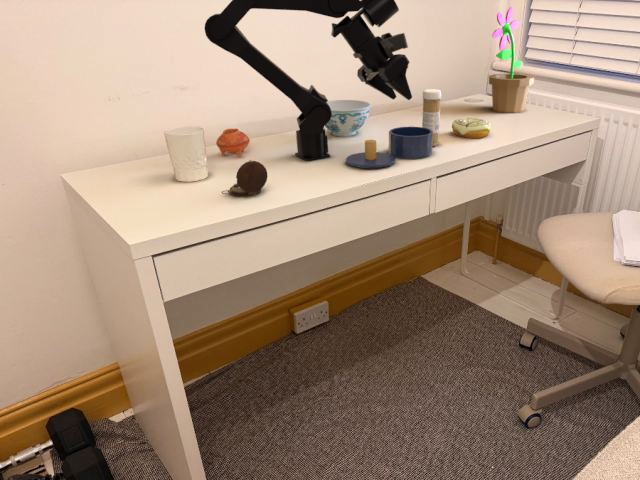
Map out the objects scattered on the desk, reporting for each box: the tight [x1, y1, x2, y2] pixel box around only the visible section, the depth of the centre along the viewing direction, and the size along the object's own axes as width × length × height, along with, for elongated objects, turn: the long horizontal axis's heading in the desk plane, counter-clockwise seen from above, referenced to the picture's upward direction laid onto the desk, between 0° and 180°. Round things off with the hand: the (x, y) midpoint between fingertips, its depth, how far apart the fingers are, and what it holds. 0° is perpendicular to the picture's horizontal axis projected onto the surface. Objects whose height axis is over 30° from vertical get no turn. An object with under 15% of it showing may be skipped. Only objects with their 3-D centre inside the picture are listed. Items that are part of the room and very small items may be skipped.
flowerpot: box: [488, 6, 535, 114], centre depth 175 cm, size 14×14×30 cm
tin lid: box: [345, 139, 396, 169], centre depth 127 cm, size 11×11×5 cm
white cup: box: [163, 125, 209, 183], centre depth 117 cm, size 8×8×10 cm
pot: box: [215, 127, 251, 158], centre depth 134 cm, size 8×8×7 cm
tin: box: [388, 126, 434, 160], centre depth 134 cm, size 10×10×5 cm
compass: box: [221, 159, 268, 197], centre depth 108 cm, size 8×8×7 cm
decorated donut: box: [451, 117, 492, 139], centre depth 151 cm, size 10×11×4 cm
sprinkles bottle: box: [421, 88, 442, 147], centre depth 139 cm, size 5×5×13 cm
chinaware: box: [324, 99, 371, 137], centre depth 152 cm, size 15×15×8 cm
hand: (402, 98), depth 131 cm, fingers open, 9 cm apart
